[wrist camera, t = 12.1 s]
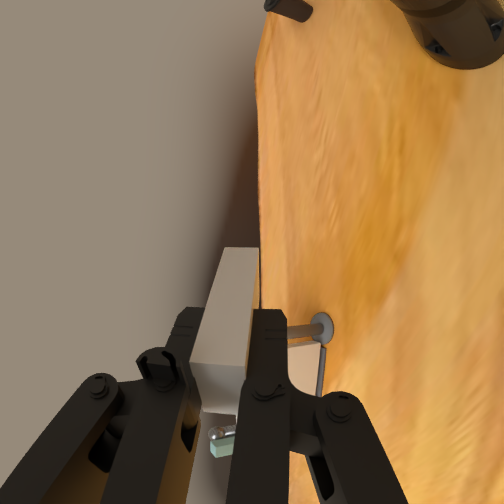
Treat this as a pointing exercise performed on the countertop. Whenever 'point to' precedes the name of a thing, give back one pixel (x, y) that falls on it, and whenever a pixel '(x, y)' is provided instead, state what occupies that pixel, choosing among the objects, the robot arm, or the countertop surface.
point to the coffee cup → (290, 9)
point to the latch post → (222, 432)
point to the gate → (290, 372)
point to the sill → (322, 339)
